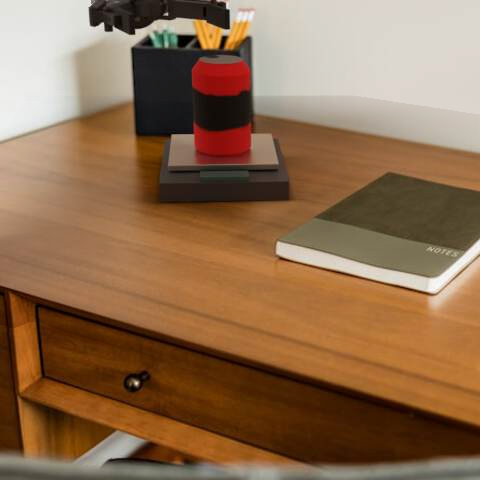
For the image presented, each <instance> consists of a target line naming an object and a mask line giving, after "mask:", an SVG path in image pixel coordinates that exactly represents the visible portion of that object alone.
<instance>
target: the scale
mask: <svg viewBox="0 0 480 480" xmlns="http://www.w3.org/2000/svg"><path fill="white" fill-rule="evenodd" d="M279 141H280V140H279V139H278V138H273V142H274V147H275V151H276V155H277V159H278V163H279V169H275V170H206V171H168V163H169V154H170V145H171V138H170V139H169V138H168V139H167V138H166V139H164V144H163V152H162V159H161V167H160V174H159V181H158V188H159V191H158V193H159V203H195V202H200V203H201V202H247V201H248V202H249V201H250V202H251V201H252V202H253V201H254V202H255V201H289V200H290V180H289V175H288V172H287V168H286V167H287V166H286V164H285V161H284V156H283V153H282V148H281V144H280V142H279Z"/></svg>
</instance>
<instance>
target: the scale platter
mask: <svg viewBox="0 0 480 480" xmlns="http://www.w3.org/2000/svg"><path fill="white" fill-rule="evenodd" d="M170 139H171V145H170V154H169V163H168V171H206V170H275V169H279V163H278V159H277V155H276V151H275V147H274V142H273V139H274V138H273V135H272V133H251V147H250V148H249V150H248V151H246V152H244V153H242V154H238V155H231V156H213V155H207V154H204V153H201V152H199V151H198V150H197V149H196V148H195V146H194V133H193V134H192V133H190V134H189V133H188V134H187V133H186V134H184V133H182V134H181V133H179V134H178V133H177V134H174V133H173V134H171V138H170Z"/></svg>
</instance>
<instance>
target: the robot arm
mask: <svg viewBox="0 0 480 480" xmlns="http://www.w3.org/2000/svg"><path fill="white" fill-rule="evenodd" d="M91 4H92V5H91V6H90V7H87V9H88V21H89V27H91V28H96V27H99V26H101V24H102V23H103V28H104V29H103V30H104V32H106V33H112V32H114V28H115V29H116V30H119V31H121V32H123V33H125V34H127V35H128V36H136V30H142V29H145V28H147V27H149V26H151V25H152V24H153V23H155V21H159V20H160V21H175V20H176V19H185V20H196V21H206V23H207V24H209V25H212V26H214V27H217V28H220V29H222V30H224V31H227V30H231V9H228V8H227V2H226V1H219V0H91Z"/></svg>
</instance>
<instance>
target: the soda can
mask: <svg viewBox="0 0 480 480" xmlns="http://www.w3.org/2000/svg"><path fill="white" fill-rule="evenodd" d="M251 78H252V77H251V68H250V67H249V66H248V64H247V63H246V62H245V61H244V59H243V58H242V57H240V56H237V55H230V54H229V55H228V54H211V55H204V56H201V57H199V58H198V60H197V62H196V63H195V64H194V66H193V67H192V68H191V85H192V86H191V87H192V89H191V91H192V116H193V118H192V119H193V134H194V146H195V148H196V149H197V150H198V151H199V152H201V153H204V154H207V155H213V156H231V155H238V154H242V153H244V152H246V151H248V150H249V148H250V147H251V134H252V97H251V96H252V91H251V90H252V89H251V88H252V87H251V86H252V85H251V83H252V82H251Z"/></svg>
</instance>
